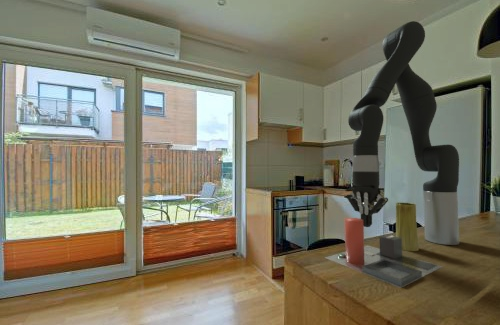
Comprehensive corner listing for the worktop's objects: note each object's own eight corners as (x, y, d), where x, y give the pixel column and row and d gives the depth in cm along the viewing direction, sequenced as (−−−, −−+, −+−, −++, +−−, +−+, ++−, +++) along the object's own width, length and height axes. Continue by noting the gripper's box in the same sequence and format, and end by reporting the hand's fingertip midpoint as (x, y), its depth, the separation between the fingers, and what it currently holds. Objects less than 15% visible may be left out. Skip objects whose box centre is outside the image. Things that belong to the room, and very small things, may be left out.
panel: (367, 247, 76) (367, 241, 76) (442, 268, 59) (442, 261, 59) (324, 259, 66) (324, 253, 66) (400, 290, 49) (400, 281, 49)
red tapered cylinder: (352, 256, 66) (351, 217, 67) (368, 261, 62) (367, 220, 63) (342, 259, 64) (341, 219, 64) (357, 265, 60) (356, 222, 60)
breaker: (387, 251, 70) (387, 234, 70) (402, 255, 66) (401, 237, 66) (379, 254, 67) (379, 236, 68) (394, 258, 64) (393, 239, 64)
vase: (423, 253, 70) (421, 205, 70) (400, 252, 71) (398, 204, 71) (413, 247, 76) (411, 202, 76) (392, 246, 77) (391, 202, 77)
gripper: (394, 170, 70) (395, 229, 69) (354, 170, 81) (354, 221, 80) (379, 170, 66) (380, 232, 65) (339, 170, 77) (340, 223, 77)
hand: (366, 226), depth 73 cm, fingers closed
